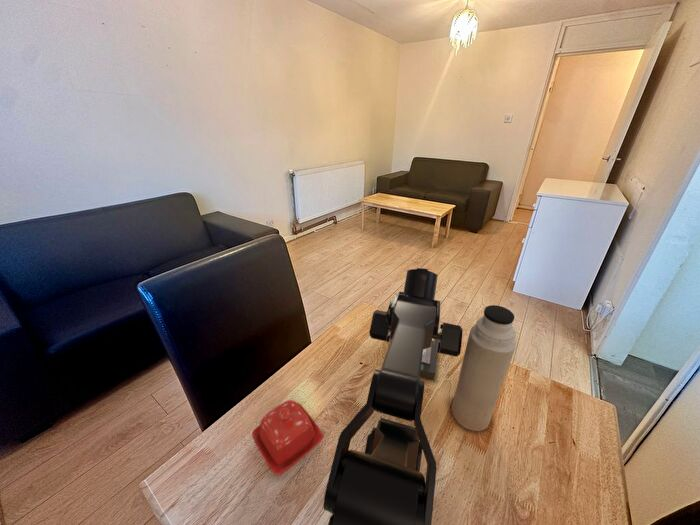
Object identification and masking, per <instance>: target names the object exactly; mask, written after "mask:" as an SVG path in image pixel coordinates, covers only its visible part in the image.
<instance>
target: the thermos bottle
mask: <svg viewBox="0 0 700 525" xmlns="http://www.w3.org/2000/svg"><path fill="white" fill-rule="evenodd" d="M514 320H515V314H514V313H513V312H512V311H511V310H510V309H508V308H506V307H504V306H501V305H497V304H495V305H494V304H491V305H487V306H486V307H485V308H484V310H483V316H482V317H479V318H478V319H476V322H475V324H474V325H472V326H471V328H470V330H469V333H468V338H467V342H466V347H465V351H464V353H463V354H464V355H463V358H462V363H461V367H460V372H459V376H458V380H457V383H456V388H455V392H454V396H453V400H452V404H451V413H452V415H453V418H454V419H455V421H456V422H457V423H458V424H459V425H461V426H462V427H463V428H465V429H467V430H469V431H475V432H481V431H483V430H485V429H487V428H488V427H489V425H490V422H491V419H492V417H493V414H494V411H495V408H496V406H497V402H498V399H499V396H500V393H501V389H502V386H503V384H504V382H505V379H506V377H507V373H508V371H509V367H510V365H511V362H512V359H513V356H514V353H515V351H516V347H517V340H516V330H515V328H514V327H513V323H514Z"/></svg>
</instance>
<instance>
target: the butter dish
mask: <svg viewBox="0 0 700 525" xmlns="http://www.w3.org/2000/svg"><path fill="white" fill-rule="evenodd" d="M251 437H252V439H253V440H254V443H255V445H256V447H257V448H258V450H259V453H260V454H261V456H262V458H263V459H264V461H265V463H266V464H267V467H268V468H269V470H270V471H271V473H272V474H274V475H275V476H276V477H279V476H281V475H283V474H285V473H286V472H287V471H289V470H290V469H292V467H294V466H295V465H296V464H297V463H298V462H300V461H301V460H302V459H303V458H305V457H306V456H307V455H308V454H309V453H310V452H311V451H312V450H314V449H315V448H316V447H317V446H319V445H320V444H321V443H322V442H323V440H324V437H325V434H324V433H323V431H322V430H321V428H320V427H319V425H318V424H317V423H316V421H315V420H314V419H313V417H311V415H310V414H309V413H308V411H307V410H306V409H305V408H304V406H303V405H302V404H301V403H299V402H296V400H293V399H290V400H286V401H284V402H282V403H281V404H278V405H277V406H276V407H274V408H273V409H271V410H270V411H268V412H267V413H266V414H265V415H264V416H263V417H262V418H261V420H260V424H259V425H258V426H256V427H255V428H254V429H253V430H252V432H251Z"/></svg>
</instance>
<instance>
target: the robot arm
mask: <svg viewBox="0 0 700 525" xmlns="http://www.w3.org/2000/svg"><path fill="white" fill-rule="evenodd" d="M438 276H439V274H437V273H435V272H433V271H432V270H431V271H430V270H429V268H425V267H424V268H423V267H417V266H416V268H413V269H408V270H406V276H405V282H404V288H403V291H398V293H396V294H395V295H394V298H391V299H390V301H389V304H388V307H387V310H386V311H385V310H379V309H376V310H375V311H373V313H372V318H371V323H370V327H369V332H368V333H369V334H368V335H369V336H370V338H371V339H372V340H377V341H382V342H388V343H389V342H390V343H389V346H388V348H387V352H386V354H385V356H384V360H383V362H382V365H381V368H380V369H376V368H375V369H374V371H373V373H372V377H371V381H370V385H369V390H368V395H367V399H366V402H365V404H364V405H363V406H362V408H361V409H360V410H359V411H358V412H357V414H356V415H355V416H354V417H353V418H352V419H351V421H350V422H349V423H348V424H347V425H346V426H345V427H344V428H343V429H342V431H341V432H340V434H339V436H338V439H337V445H336V448H335V451H334V456H333V460H332V464H331V468H330V471H329V476H328V480H327V483H326V488H325V492H324V498H323V510H324V511H327V512H328V513H330V514H331V515H330V517H329V520H328V523H327V525H432V520H433V511H434V509H433V508H434V500H435V489H436V479H437V469H438V468H437V462H436V459H435V456H434V453H433V451H432V450H433V449H432V448H431V445H430V442H429V439H428V436H427V434H426V430H425V428H424V425H423V422H422V418H421V417H422V409H423V402H424V394H425V386H426V382H425V381H424V380H421V379H420V378H421V377H420V372H421V364H422V355H423V350H424V349H427V348H430V347H431V343H432V341H434V346H435V348H436V351H437V353H438V354H441V355H446V356H450V357H455V358H457V357H458V356H460V355H461V351H462V344H463V343H462V342H463V335H464V334H463V332H464V329H463V327H462V326H461V325H459V324H453V323H448V322H442V323H440V319H441V300H436V299H435V298H436V292H437V285H438V284H437V283H438ZM374 412H377V413H380V414H383V415H386V416H389V417H390V416H391V417H394V418H398V419H400V420H404V421H408V422H413V426H412V425H407V424H404V423H401V422H397V421H394V420H391V419H387V418H384V417H380V418H379V420H378V422H377V425H376V427H375V426H373V428H372V430H371V432H370V433H369V434H367V438H366V443H365V447H364V448H365V449H364V452H363V451H359V450H355V449H350V446H351V441H352V439H353V437H355V435H356V434H357V433H358V432H359V431H360V429H361V428H362V427H363V425H365V424H366V422H367V421H368V420H369V419H370V417H371V416H372V415H373V414H374ZM422 455H424V459H425V461H426V472H425V476H424V474H423V473H422V472H421V463H422Z"/></svg>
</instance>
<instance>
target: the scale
mask: <svg viewBox="0 0 700 525" xmlns="http://www.w3.org/2000/svg"><path fill="white" fill-rule="evenodd" d="M437 355H438V354H437V351H436V348H435V346H434V340H432V343H431V347H430V348H427V350H426V351H425V353H424V354H423V356H422V364H421V372H420V378H423V379H427V380H432V381H435V376H436V366H437Z"/></svg>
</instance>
